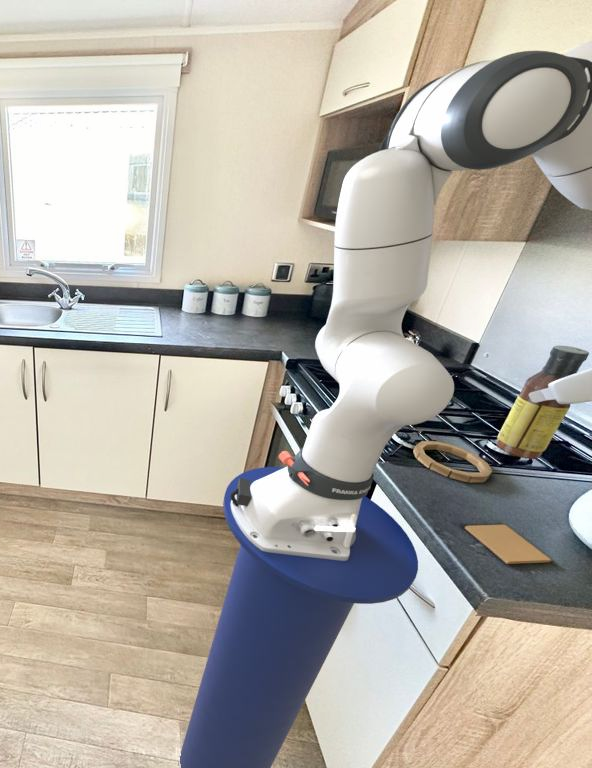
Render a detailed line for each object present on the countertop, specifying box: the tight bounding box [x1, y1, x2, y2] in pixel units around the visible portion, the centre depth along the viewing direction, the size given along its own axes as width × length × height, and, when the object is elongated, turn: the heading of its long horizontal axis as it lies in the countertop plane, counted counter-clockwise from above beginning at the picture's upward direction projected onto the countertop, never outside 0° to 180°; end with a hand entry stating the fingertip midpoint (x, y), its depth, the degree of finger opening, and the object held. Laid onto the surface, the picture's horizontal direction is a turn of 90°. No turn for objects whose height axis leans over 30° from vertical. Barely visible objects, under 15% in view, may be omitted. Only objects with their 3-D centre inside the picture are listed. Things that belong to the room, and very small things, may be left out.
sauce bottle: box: [495, 345, 590, 460], centre depth 71 cm, size 7×6×20 cm
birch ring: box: [412, 440, 493, 484], centre depth 94 cm, size 13×13×2 cm
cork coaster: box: [464, 524, 552, 565], centre depth 73 cm, size 8×8×1 cm
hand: (543, 394), depth 71 cm, fingers closed on sauce bottle, 6 cm apart
